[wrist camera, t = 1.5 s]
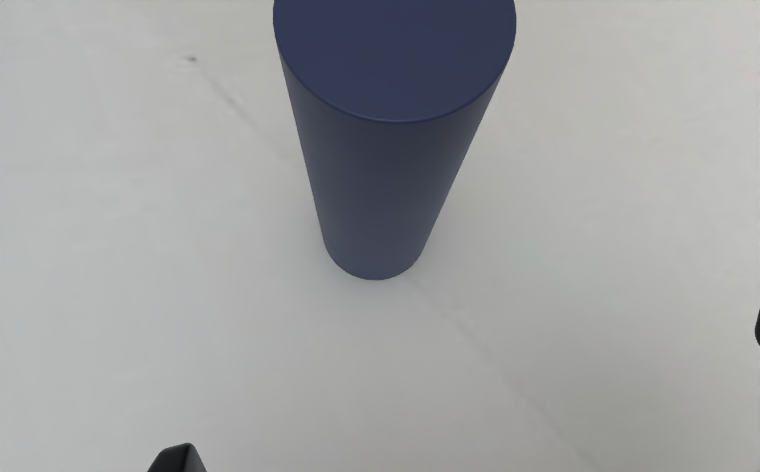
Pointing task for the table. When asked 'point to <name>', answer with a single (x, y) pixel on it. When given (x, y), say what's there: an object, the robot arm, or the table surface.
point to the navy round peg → (388, 113)
